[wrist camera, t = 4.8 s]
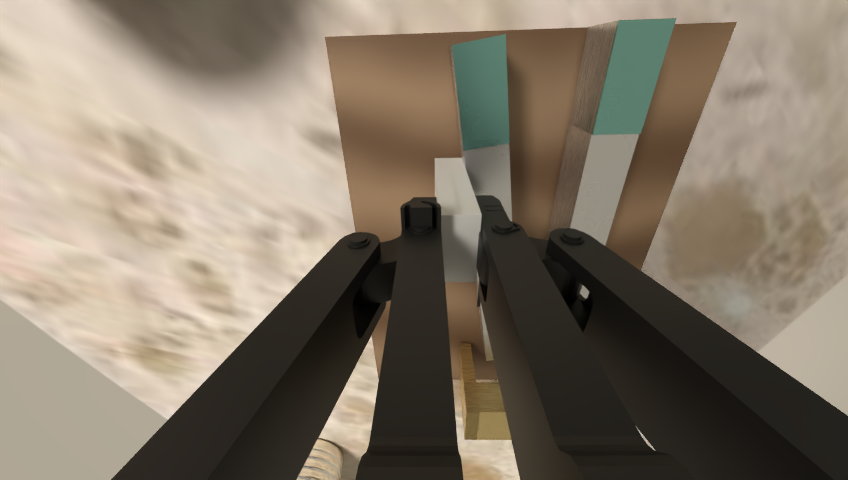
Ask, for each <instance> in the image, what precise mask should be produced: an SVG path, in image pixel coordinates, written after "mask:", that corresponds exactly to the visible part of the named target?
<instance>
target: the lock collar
mask: <svg viewBox="0 0 848 480" xmlns="http://www.w3.org/2000/svg"><path fill="white" fill-rule="evenodd" d="M459 380H460V391H461V403H462V414H463V426H464V438H465V439H470V440H511V435H510V431H509V426H508V422H507V417H506V413H505V408H504V404H503V399H502V395H501V390H500V386H499V383H476V381H475V373H474V366H473V359H472V351H471V344H470V343H460V348H459Z"/></svg>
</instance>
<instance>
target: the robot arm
mask: <svg viewBox="0 0 848 480" xmlns="http://www.w3.org/2000/svg"><path fill="white" fill-rule="evenodd" d="M400 212H401V228H402V231H401V236H399V237H398V238H395V239H393V240H389V241H385V242H380V240H379V238H378V236H376V235H375V234H372V233H368V232H357V233H356V232H355V233H352V234H349V235H347V236H345V237H343V238H342V239H340V240H339V241H338V242H337V243H336V244H335V246H334V247H333V248H332V249H331V250H330V251H329V252H328V253H327V254H326V255H325V256H324V257H323V258H322V259H321V260H320V261H319V262H318V263H317V264H316V265H315V266H314V268H313V269H312V270H311V271H310V272H309V273H308V274H307V275H306V276H305V277H304V278H303V279H302V280H301V281H300V282H299V283H298V284H297V285H296V286H295V287H294V289H293V290H292V291H291V292H290V293H289V294H288V295H287V296H286V297H285V298H284V299H283V300H282V301H281V302H280V303H279V304H278V305H277V306H276V307H275V308H274V309H273V311H272V312H271V313H270V314H269V315H268V316H267V317H266V318H265V319H264V320H263V321H262V322H261V323H260V324H259V325H258V326H257V327H256V328H255V329H254V330H253V331H252V333H251V334H250V335H249V336H248V337H247V338H246V339H245V340H244V341H243V342H242V343H241V344H240V345H239V346H238V347H237V348H236V349H235V350H234V351H233V352H232V354H231V355H230V356H229V357H228V358H227V359H226V360H225V361H224V362H223V363H222V364H221V365H220V366H219V367H218V368H217V369H216V370H215V371H214V372H213V373H212V374H211V376H210V377H209V378H208V379H207V380H206V381H205V382H204V383H203V384H202V385H201V386H200V387H199V388H198V389H197V390H196V391H195V392H194V393H193V394H192V395H191V397H190V398H189V399H188V400H187V401H186V402H185V403H184V404H183V405H182V406H181V407H180V408H179V409H178V410H177V411H176V412H175V413H174V414H173V415H172V416H171V417H170V419H169V420H168V421H167V422H166V423H165V424H164V425H163V426H162V427H161V428H160V429H159V430H158V431H157V432H156V433H155V434H154V435H153V436H152V437H151V438H150V439H149V441H148V442H147V443H146V444H145V445H144V446H143V447H142V448H141V449H140V450H139V451H138V452H137V453H136V454H135V455H134V457H132V458H131V459H130V461H129V462H128V463H127V464H126V465H125V466H124V467H123V468H122V469H121V470H120V471H119V472H118V473H117V474H116V475H115V476H114V477H113V478H112V479H111V480H297V478H298V476H299V474H300V472H301V470H302V468H303V466H304V464H305V462H306V460H307V459H308V457H309V455H310V453H311V451H312V449H313V447H314V445H315V443H316V441H317V439H318V437H319V435H320V433H321V431H322V430H323V428H324V426H325V424H326V422H327V420H328V418H329V416H330V414H331V412H332V410H333V408H334V406H335V404H336V403H337V401H338V399H339V397H340V395H341V393H342V391H343V389H344V387H345V385H346V383H347V381H348V379H349V377H350V376H351V374H352V372H353V370H354V368H355V366H356V364H357V362H358V360H359V358H360V356H361V354H362V352H363V350H364V348H365V347H366V345H367V343H368V341H369V339H370V337H371V335H372V333H373V331H374V329H375V327H376V325H377V323H378V321H379V320H380V318H381V316H382V314H383V312H384V310H385V308H386V301H391V304H390V311H389V317H388V324H387V331H386V337H385V344H384V350H383V357H382V364H381V370H380V377H379V383H378V390H377V397H376V403H375V410H374V416H373V423H372V430H371V436H370V442H369V446H368V449H367V452H366V453H365V454H364V455H363V456H362V457H361V460H360V463H359V466H358V471H357V475H356V480H463V472H462V464H461V457H460V454H459V452H458V445H457V433H456V420H455V407H454V393H453V380H452V367H451V354H450V341H449V327H448V314H447V301H446V288H445V282H476V279H477V272H478V276H479V288H478V299H477V307H480V303H481V305H482V310H483V314H484V319H485V323H486V328H487V332H488V337H489V341H490V346H491V350H492V354H493V359H494V363H495V368H496V372H497V377H498V381H499V386H500V390H501V395H502V399H503V404H504V408H505V413H506V417H507V422H508V426H509V431H510V435H511V440H512V444H513V449H514V453H515V458H516V462H517V467H518V471H519V476H520V480H848V416H847V415H846V414H844V413H843V412H841V411H840V410H839V409H837V408H836V407H834V406H833V405H831V404H830V403H829V402H827V401H826V400H824V399H823V398H821V397H820V396H819V395H817V394H816V393H814V392H813V391H811V390H810V389H809V388H807V387H806V386H804V385H803V384H801V383H800V382H799V381H797V380H796V379H794V378H793V377H791V376H790V375H789V374H787V373H786V372H784V371H783V370H781V369H780V368H779V367H777V366H776V365H774V364H773V363H771V362H770V361H768V360H767V359H766V358H764V357H763V356H761V355H760V354H759V353H757V352H756V351H754V350H753V349H752V348H750V347H749V346H747V345H746V344H744V343H743V342H742V341H740V340H739V339H737V338H736V337H734V336H733V335H732V334H730V333H729V332H727V331H726V330H724V329H723V328H722V327H720V326H719V325H717V324H716V323H714V322H713V321H712V320H710V319H709V318H707V317H706V316H704V315H703V314H702V313H700V312H699V311H697V310H696V309H694V308H693V307H692V306H690V305H689V304H687V303H686V302H684V301H683V300H682V299H680V298H679V297H677V296H676V295H674V294H673V293H672V292H670V291H669V290H667V289H666V288H664V287H663V286H662V285H660V284H659V283H657V282H656V281H654V280H653V279H652V278H650V277H649V276H647V275H646V274H644V273H643V272H642V271H640V270H639V269H637V268H636V267H634V266H633V265H632V264H630V263H629V262H627V261H626V260H625V259H623V258H622V257H620V256H619V255H617V254H616V253H615V252H613V251H612V250H610V249H609V248H607V247H606V246H605V245H603V244H602V243H600V242H599V241H597V240H596V239H595V238H593V237H592V236H590V235H588V234H587V233H585V232H582V231H579V230H577V229H573V228H559V229H555V230H553V231H551V232H550V234H549V238H548V240H545V239H538V238H533V237H528V235H527V234H526V232H525V230H524V228H523V227H522V226H521V225H519V224H517V223H515V222H512V221H510V220H509V218H508V216H507V214H506V212H505V210H504V208H503V206H502V204H501V202H500V200H499V199H497V198H496V197H494V196H493V195H475V194H474V191H473V188H472V185H471V183H470V180H469V177H468V174H467V171H466V168H465V165H464V163H463V160H462V158H435V197H413V198H412V199H411V200H410V201H408V202H406V203H404V204H402V206H401V207H400ZM582 285H583V286H584V287H585V288H586V289H587V290H588V291H589V294H588V297H587V299H586V298H584V297H583V296H582V295H581V294H580V292H581V288H582ZM635 425H636V426H635ZM636 427H637V428H638V429H639V430H640V432H641V433H642V434H643V435H644V436H645V438H646V439H647V440H648V441H649V443H650V444H651V445H652V446H653V448H654V449H655V450H656V451H654V450H653V449H652V448H651V447H649V446H648V445H647V444H646V442H645V441H644V439H643V438H642V437H641V435H640V433H639V431H638V430H637V428H636Z"/></svg>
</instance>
